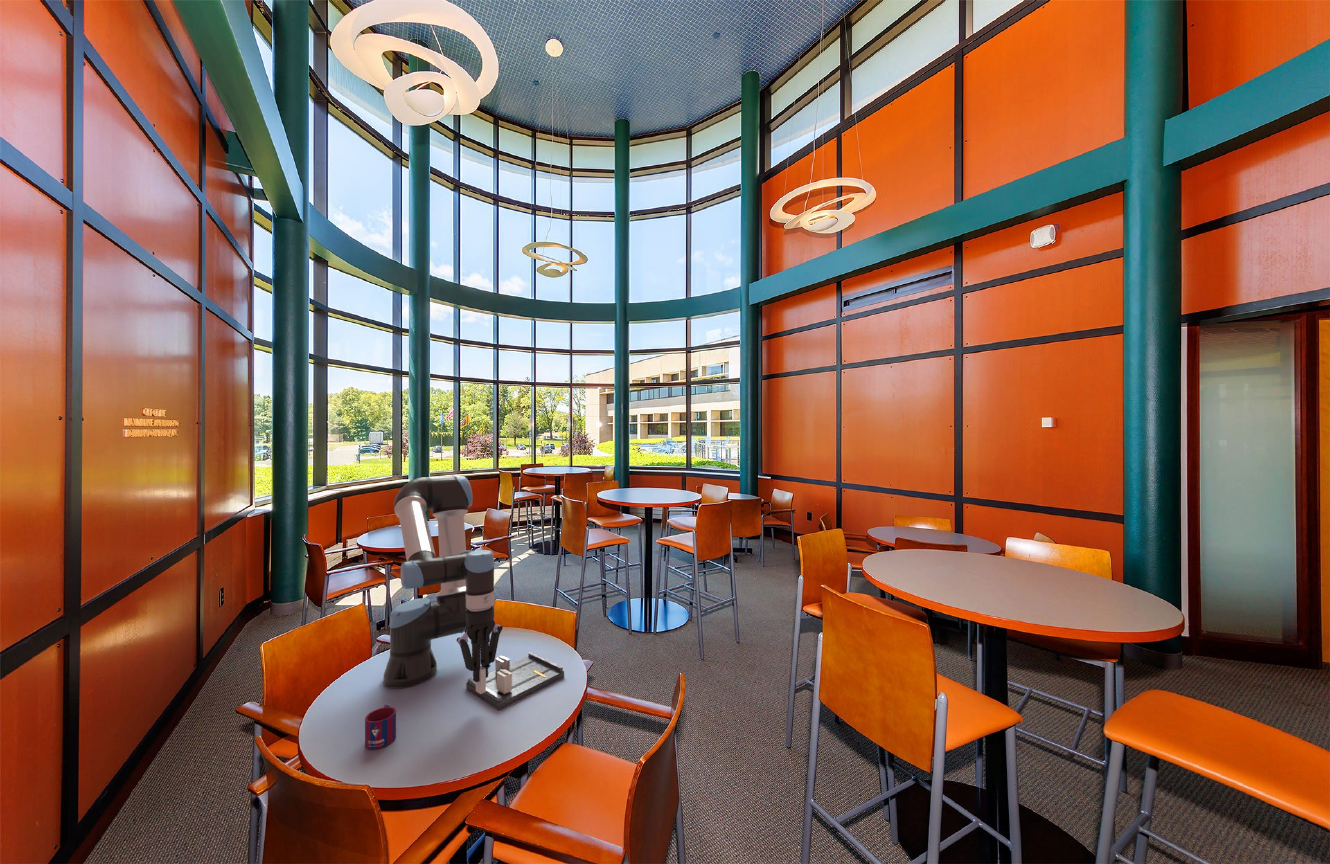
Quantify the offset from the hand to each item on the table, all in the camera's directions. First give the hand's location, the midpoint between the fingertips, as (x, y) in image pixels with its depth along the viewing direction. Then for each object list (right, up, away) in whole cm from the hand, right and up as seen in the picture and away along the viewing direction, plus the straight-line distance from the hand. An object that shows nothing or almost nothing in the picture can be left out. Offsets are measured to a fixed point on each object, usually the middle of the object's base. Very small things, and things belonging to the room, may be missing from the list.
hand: (480, 691), depth 130 cm
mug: (-20, -6, -11) cm, 24 cm away
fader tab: (+5, -3, +6) cm, 8 cm away
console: (+6, -6, +14) cm, 16 cm away
